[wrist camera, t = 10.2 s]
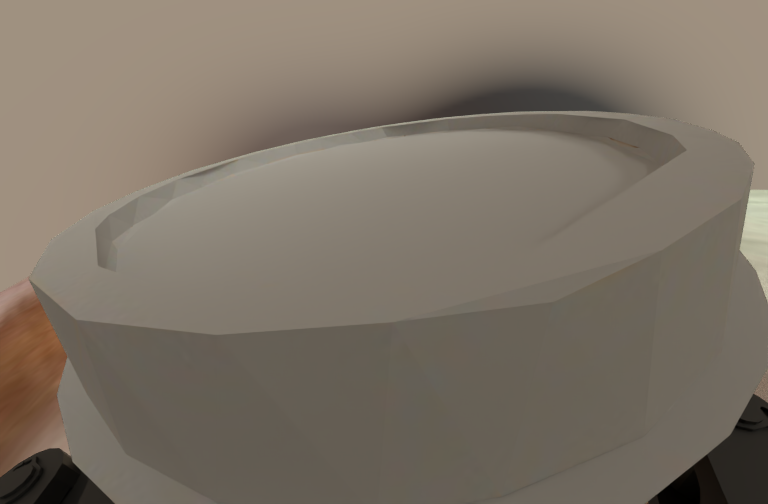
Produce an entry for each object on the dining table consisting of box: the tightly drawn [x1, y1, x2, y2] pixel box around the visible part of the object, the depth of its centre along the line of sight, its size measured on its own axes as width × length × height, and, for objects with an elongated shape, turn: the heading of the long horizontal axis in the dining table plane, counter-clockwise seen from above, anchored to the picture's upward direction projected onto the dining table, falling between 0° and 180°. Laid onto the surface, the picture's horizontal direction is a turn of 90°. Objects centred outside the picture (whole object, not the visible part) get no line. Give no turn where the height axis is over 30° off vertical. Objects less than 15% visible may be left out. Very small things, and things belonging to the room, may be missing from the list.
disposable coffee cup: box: [29, 111, 768, 504], centre depth 8 cm, size 10×10×12 cm
